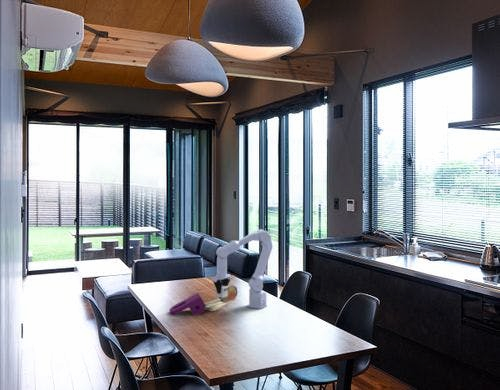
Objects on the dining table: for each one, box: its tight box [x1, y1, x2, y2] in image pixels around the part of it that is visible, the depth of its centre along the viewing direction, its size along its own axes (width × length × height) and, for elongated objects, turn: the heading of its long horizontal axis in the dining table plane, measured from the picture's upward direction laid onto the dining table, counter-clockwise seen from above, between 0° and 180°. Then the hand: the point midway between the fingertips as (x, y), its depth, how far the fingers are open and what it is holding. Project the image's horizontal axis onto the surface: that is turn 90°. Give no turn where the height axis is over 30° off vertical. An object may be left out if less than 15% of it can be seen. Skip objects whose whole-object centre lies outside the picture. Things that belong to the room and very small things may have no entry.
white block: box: [215, 285, 229, 298], centre depth 260 cm, size 6×4×6 cm
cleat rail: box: [203, 298, 229, 312], centre depth 262 cm, size 6×14×3 cm, turn 147°
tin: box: [218, 285, 238, 303], centre depth 279 cm, size 15×3×8 cm, turn 143°
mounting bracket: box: [169, 292, 205, 315], centre depth 252 cm, size 10×8×18 cm
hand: (221, 292), depth 260 cm, fingers closed on white block, 4 cm apart
